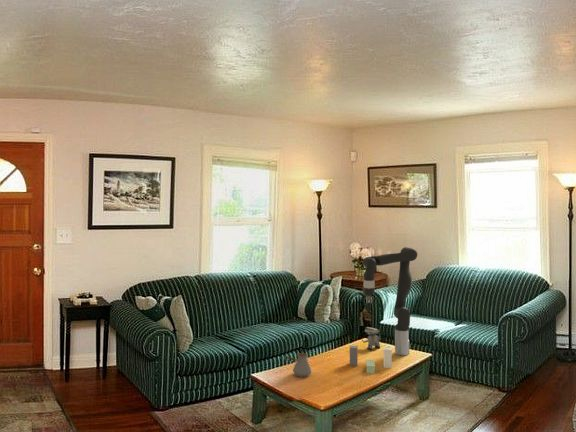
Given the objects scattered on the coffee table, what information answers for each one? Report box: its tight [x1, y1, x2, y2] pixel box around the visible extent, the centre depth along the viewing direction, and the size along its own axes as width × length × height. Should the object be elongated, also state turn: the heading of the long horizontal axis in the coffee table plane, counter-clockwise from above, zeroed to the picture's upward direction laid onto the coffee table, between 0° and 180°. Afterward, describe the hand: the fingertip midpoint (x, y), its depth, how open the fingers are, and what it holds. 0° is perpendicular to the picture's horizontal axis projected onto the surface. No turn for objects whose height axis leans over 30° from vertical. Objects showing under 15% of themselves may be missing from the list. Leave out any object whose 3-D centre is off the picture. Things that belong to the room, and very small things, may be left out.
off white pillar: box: [382, 346, 393, 369], centre depth 329 cm, size 5×5×12 cm
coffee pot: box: [285, 352, 312, 378], centre depth 309 cm, size 21×12×15 cm, turn 139°
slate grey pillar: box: [349, 345, 359, 367], centre depth 333 cm, size 5×5×12 cm
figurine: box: [361, 326, 381, 351], centre depth 369 cm, size 9×12×15 cm
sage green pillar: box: [365, 359, 376, 375], centre depth 323 cm, size 5×5×12 cm
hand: (368, 311), depth 346 cm, fingers closed
